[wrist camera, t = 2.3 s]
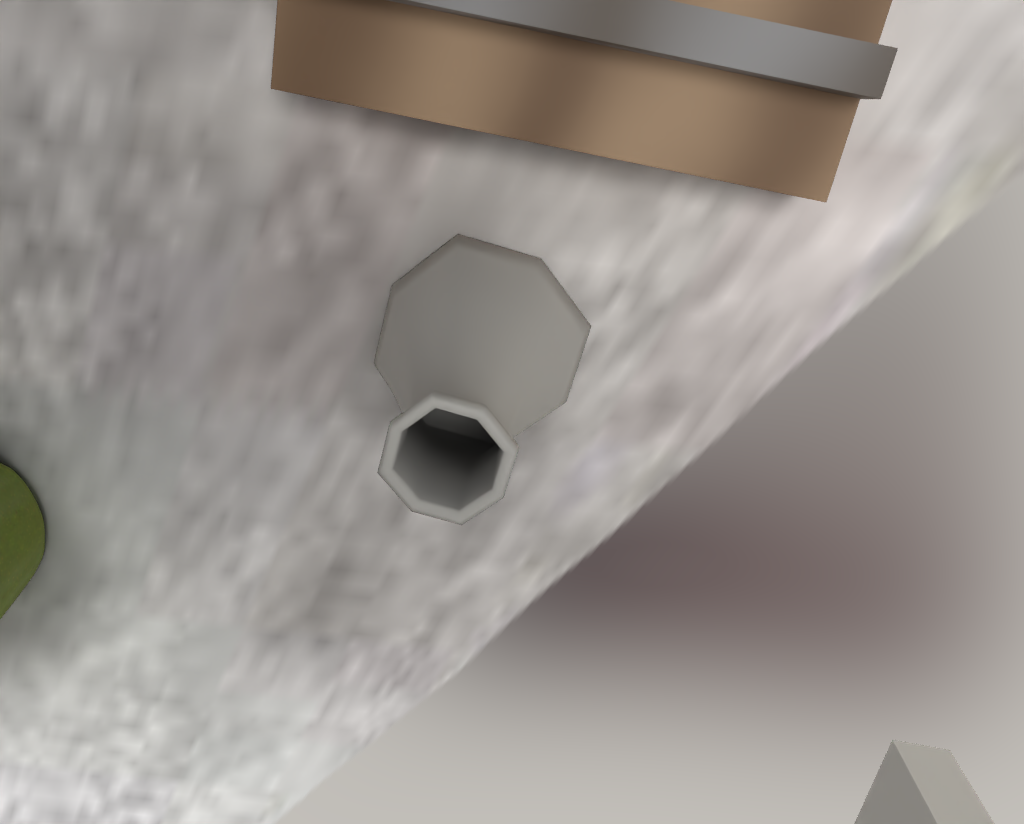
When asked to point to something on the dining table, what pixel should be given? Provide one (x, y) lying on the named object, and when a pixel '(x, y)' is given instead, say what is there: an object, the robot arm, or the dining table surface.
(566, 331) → the flask
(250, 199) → the dining table surface
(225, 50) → the dining table surface
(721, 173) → the dock
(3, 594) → the plant pot
